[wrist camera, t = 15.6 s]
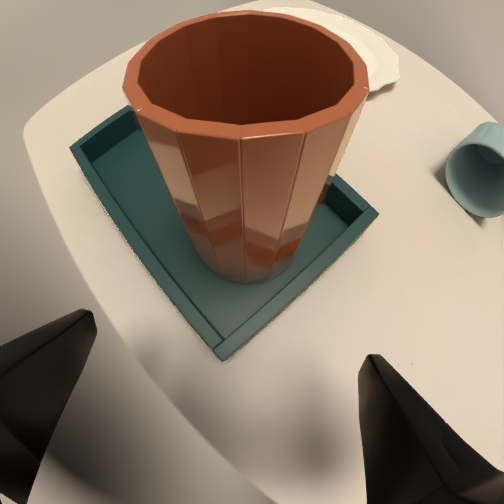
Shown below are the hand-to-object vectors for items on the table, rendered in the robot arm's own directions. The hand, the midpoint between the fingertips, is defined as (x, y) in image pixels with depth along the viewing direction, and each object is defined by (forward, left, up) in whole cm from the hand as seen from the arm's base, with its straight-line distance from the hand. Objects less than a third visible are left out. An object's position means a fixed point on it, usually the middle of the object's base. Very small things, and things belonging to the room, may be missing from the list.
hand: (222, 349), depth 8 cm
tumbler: (+6, +4, -9) cm, 11 cm away
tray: (+7, +9, -9) cm, 14 cm away
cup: (+30, -5, -6) cm, 31 cm away
